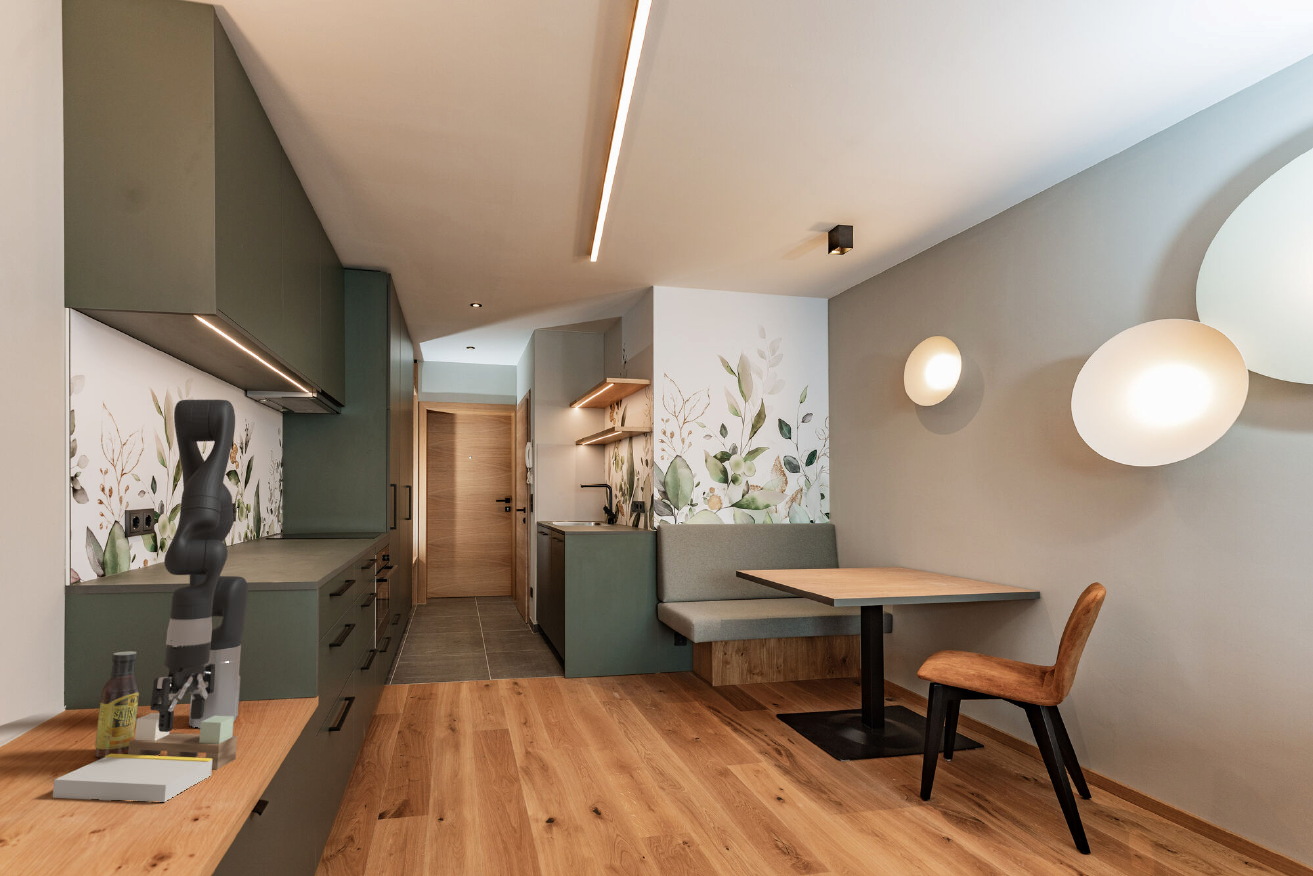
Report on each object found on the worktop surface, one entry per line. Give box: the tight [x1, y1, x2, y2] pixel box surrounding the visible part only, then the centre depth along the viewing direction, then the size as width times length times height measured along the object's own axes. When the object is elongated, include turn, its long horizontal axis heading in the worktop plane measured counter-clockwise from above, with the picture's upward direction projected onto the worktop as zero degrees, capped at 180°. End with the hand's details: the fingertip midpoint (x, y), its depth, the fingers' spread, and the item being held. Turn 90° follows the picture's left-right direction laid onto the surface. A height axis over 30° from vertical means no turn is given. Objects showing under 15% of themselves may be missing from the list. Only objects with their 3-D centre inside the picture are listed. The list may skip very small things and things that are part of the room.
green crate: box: [199, 716, 235, 744], centre depth 141 cm, size 4×4×4 cm
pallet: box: [127, 732, 238, 770], centre depth 141 cm, size 6×18×4 cm, turn 87°
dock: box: [52, 753, 213, 802], centre depth 129 cm, size 12×20×3 cm, turn 87°
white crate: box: [134, 712, 171, 741], centre depth 142 cm, size 4×4×4 cm
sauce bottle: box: [94, 651, 140, 759], centre depth 145 cm, size 6×6×20 cm
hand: (181, 724), depth 141 cm, fingers open, 8 cm apart
